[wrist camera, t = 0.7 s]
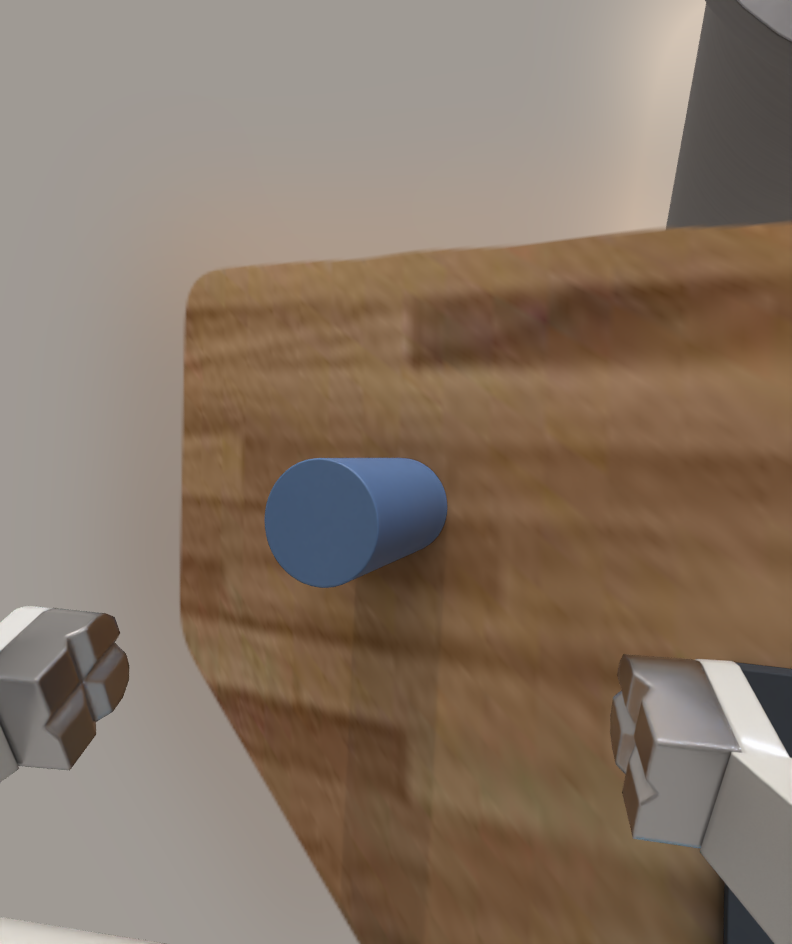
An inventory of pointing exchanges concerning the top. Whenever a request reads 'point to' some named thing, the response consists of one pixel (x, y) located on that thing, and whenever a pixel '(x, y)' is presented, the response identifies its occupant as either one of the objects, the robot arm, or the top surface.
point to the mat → (788, 709)
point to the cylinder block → (351, 516)
